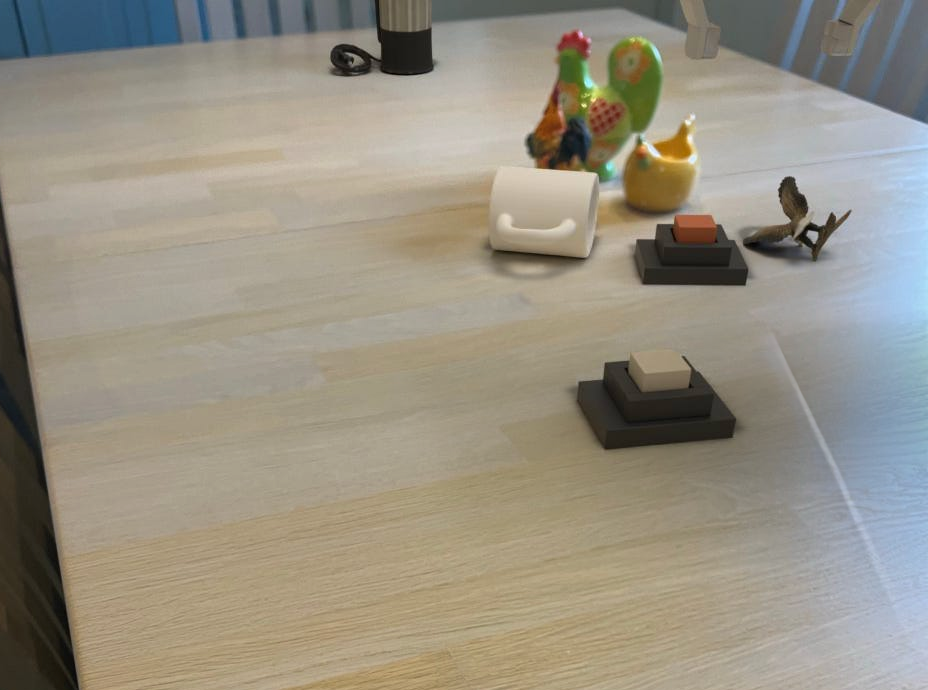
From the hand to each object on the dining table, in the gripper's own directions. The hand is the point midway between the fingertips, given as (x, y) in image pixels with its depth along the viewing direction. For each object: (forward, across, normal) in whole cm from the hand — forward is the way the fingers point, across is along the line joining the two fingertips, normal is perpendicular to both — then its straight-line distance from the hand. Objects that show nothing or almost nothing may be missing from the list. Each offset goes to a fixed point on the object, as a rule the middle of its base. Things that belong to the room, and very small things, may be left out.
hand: (768, 56), depth 64 cm
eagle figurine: (+24, +23, +30) cm, 45 cm away
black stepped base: (+25, -4, -1) cm, 25 cm away
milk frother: (+26, -4, +123) cm, 126 cm away
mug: (+25, -3, +34) cm, 42 cm away
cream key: (+22, -4, -1) cm, 22 cm away
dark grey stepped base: (+25, +10, +27) cm, 38 cm away
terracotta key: (+21, +10, +27) cm, 36 cm away
